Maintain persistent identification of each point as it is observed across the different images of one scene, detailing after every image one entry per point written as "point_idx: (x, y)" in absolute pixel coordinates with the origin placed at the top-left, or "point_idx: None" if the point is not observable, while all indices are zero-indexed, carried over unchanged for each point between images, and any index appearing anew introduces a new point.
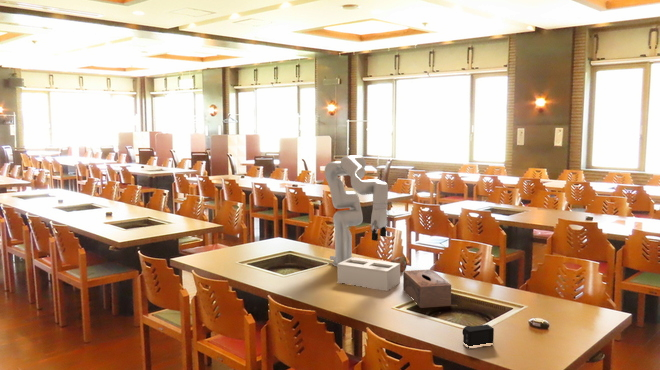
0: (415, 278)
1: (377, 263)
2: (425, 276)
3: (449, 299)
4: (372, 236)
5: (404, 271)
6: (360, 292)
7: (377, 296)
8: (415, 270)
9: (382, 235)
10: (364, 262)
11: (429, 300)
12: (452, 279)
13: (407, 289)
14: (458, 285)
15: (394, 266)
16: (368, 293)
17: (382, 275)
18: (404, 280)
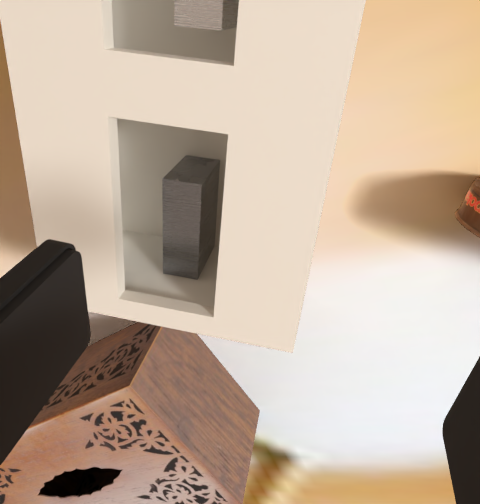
0: (31, 445)
1: (226, 173)
2: (228, 445)
3: (71, 485)
4: (1, 296)
5: (121, 391)
6: (2, 88)
7: (7, 206)
8: (176, 440)
9: (471, 394)
10: (240, 1)
11: None
12: (445, 484)
13: (109, 347)
14: (347, 497)
15: (189, 327)
16: (17, 144)
17: None
18: (134, 352)
